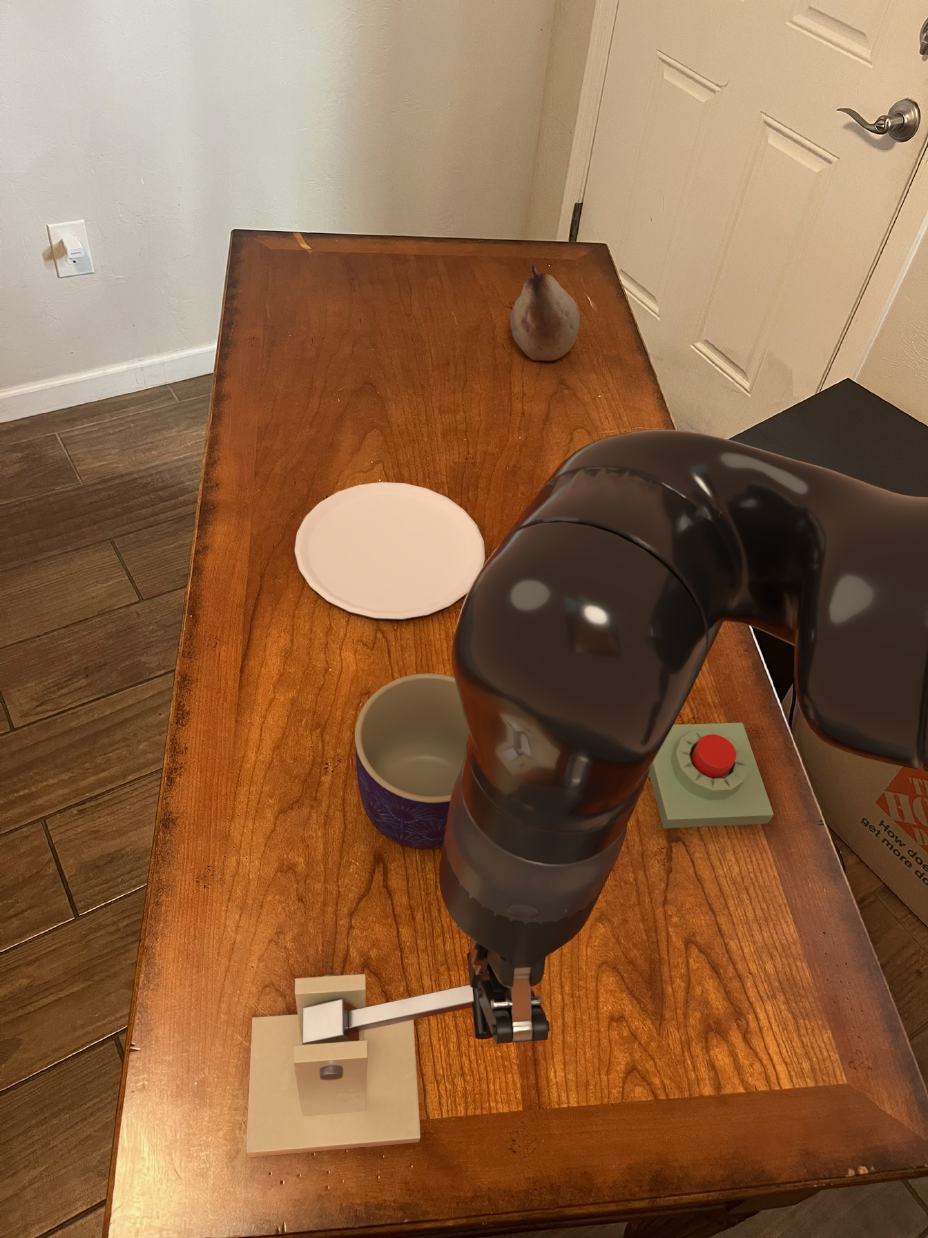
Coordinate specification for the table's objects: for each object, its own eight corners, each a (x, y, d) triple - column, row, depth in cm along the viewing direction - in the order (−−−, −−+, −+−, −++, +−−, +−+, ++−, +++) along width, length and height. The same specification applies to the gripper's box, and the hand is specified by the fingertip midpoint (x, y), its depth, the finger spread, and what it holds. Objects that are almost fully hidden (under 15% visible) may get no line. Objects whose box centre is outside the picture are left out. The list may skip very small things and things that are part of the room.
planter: (404, 891, 79) (410, 830, 71) (328, 782, 85) (325, 714, 77) (519, 818, 84) (538, 753, 76) (440, 720, 90) (449, 650, 82)
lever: (491, 956, 59) (479, 944, 58) (500, 1040, 56) (488, 1030, 55) (319, 995, 62) (302, 985, 60) (319, 1077, 59) (301, 1068, 57)
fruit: (503, 328, 134) (514, 249, 125) (567, 329, 135) (583, 251, 126) (512, 371, 128) (524, 291, 119) (580, 372, 129) (597, 293, 120)
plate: (254, 559, 101) (253, 551, 100) (377, 464, 113) (377, 456, 112) (406, 658, 95) (406, 650, 94) (520, 545, 106) (521, 538, 105)
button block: (767, 824, 86) (781, 805, 84) (662, 828, 85) (672, 809, 82) (737, 731, 93) (748, 711, 90) (639, 735, 91) (647, 714, 89)
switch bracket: (412, 1012, 73) (422, 939, 61) (419, 1142, 67) (433, 1088, 56) (253, 1023, 71) (235, 950, 60) (247, 1157, 65) (225, 1105, 54)
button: (735, 777, 85) (741, 767, 84) (697, 778, 85) (702, 768, 84) (724, 743, 88) (730, 733, 86) (687, 744, 87) (692, 734, 86)
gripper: (645, 983, 38) (568, 1093, 51) (586, 709, 46) (534, 865, 59) (459, 996, 37) (430, 1105, 50) (434, 713, 45) (415, 871, 58)
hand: (486, 974), depth 55 cm, fingers closed
